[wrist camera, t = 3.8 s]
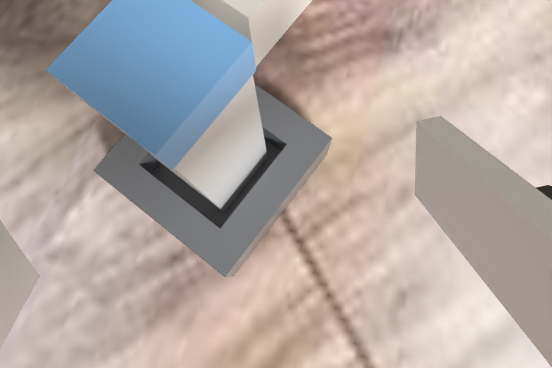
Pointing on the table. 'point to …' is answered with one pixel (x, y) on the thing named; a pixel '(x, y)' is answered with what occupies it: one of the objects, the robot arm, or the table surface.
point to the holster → (246, 206)
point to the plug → (173, 89)
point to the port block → (257, 19)
